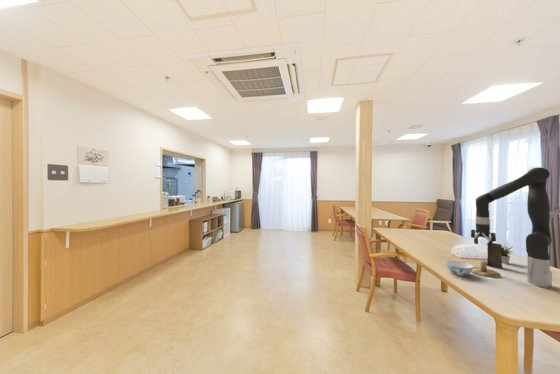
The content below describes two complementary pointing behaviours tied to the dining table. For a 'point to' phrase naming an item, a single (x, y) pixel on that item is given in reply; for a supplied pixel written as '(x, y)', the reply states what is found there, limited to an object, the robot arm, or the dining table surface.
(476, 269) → the lid
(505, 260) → the house plant
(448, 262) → the chinaware
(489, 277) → the mat
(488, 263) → the container
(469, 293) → the dining table surface
